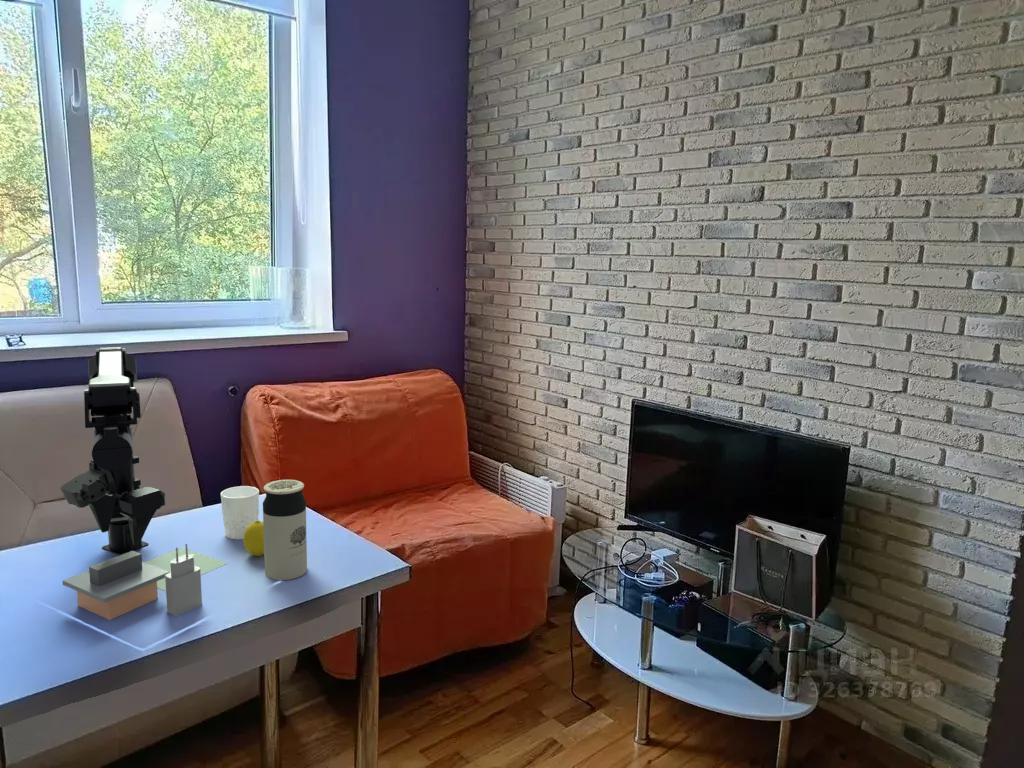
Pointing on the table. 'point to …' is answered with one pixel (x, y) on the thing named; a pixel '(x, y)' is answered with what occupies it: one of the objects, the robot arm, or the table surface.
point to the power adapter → (183, 585)
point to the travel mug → (284, 530)
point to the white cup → (239, 509)
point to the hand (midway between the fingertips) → (120, 537)
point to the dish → (119, 602)
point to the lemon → (254, 538)
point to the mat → (164, 560)
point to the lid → (115, 577)
